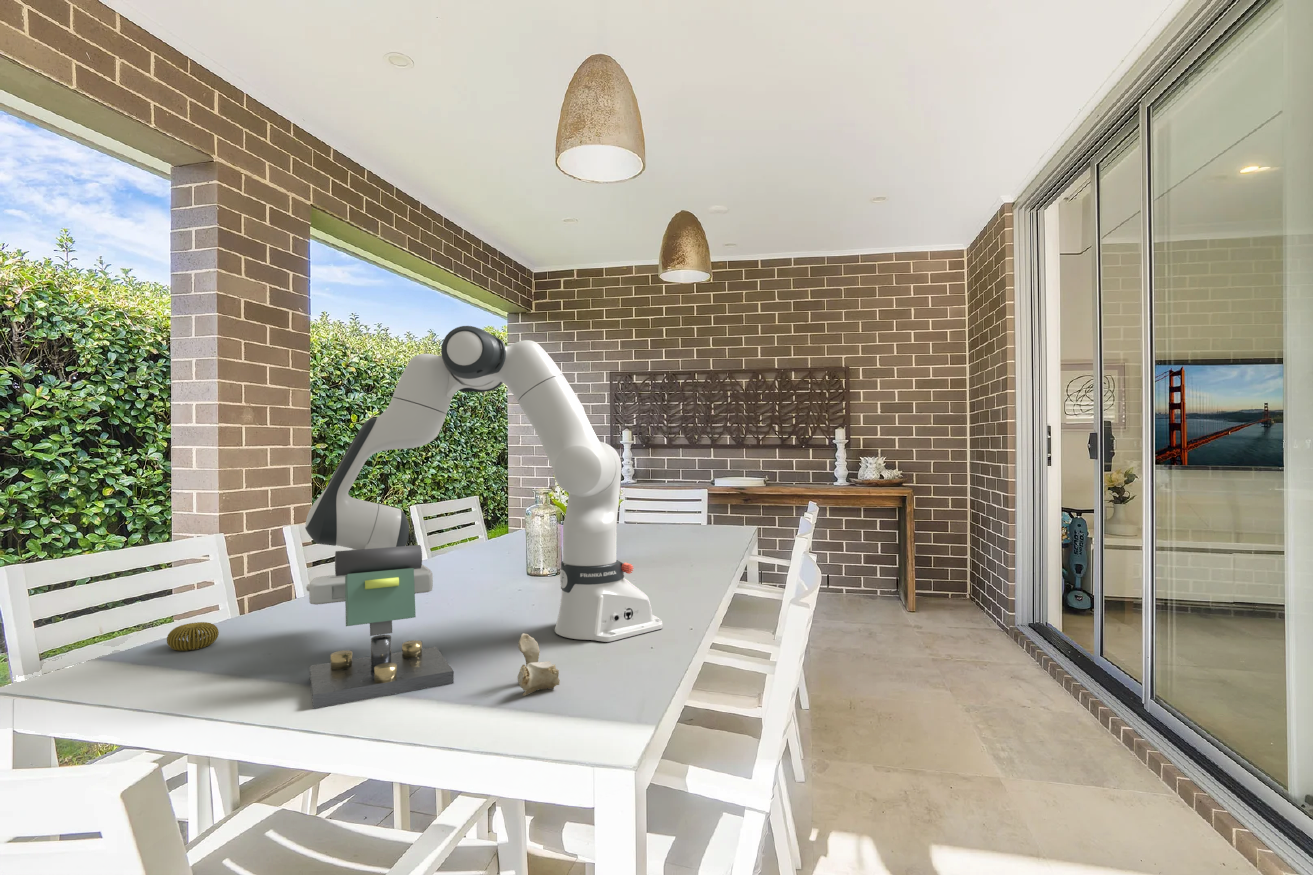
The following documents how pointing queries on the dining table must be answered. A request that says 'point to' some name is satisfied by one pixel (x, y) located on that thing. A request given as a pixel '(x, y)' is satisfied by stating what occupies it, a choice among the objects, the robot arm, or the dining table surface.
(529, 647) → the bone
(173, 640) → the sculpture
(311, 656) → the dining table surface
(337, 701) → the plate
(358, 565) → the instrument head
